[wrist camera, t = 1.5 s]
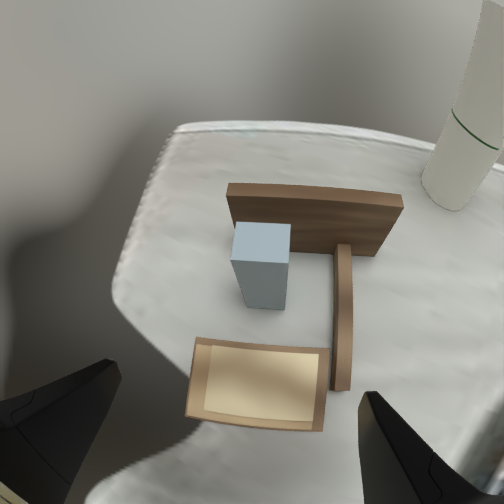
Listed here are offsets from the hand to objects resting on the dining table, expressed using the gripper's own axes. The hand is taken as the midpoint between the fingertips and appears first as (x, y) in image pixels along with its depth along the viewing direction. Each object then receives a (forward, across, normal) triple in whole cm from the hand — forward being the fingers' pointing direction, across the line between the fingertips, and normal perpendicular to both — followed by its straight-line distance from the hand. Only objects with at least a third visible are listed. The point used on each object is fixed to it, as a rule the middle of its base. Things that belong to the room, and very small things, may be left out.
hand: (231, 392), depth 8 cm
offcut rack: (+13, -2, +6) cm, 15 cm away
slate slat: (+15, 0, +4) cm, 16 cm away
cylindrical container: (+26, -22, -6) cm, 34 cm away
